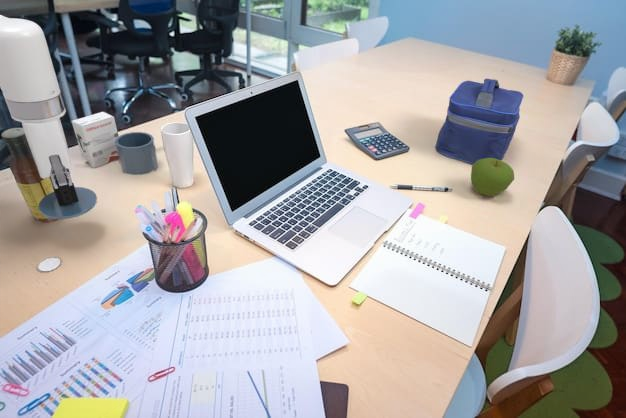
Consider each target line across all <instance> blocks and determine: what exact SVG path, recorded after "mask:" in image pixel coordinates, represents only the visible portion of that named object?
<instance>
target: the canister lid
mask: <svg viewBox="0 0 626 418" xmlns="http://www.w3.org/2000/svg"><path fill="white" fill-rule="evenodd" d="M69 176H70V179H71V180H72V177H71V173H70V174H69ZM65 177H66V174H65ZM50 178H51V176H50ZM56 179H57V177H56V176H55V180H56ZM51 181H52V179H51ZM71 182H72V183H73V180H72V181H71ZM52 184H53V181H52ZM53 187H54V184H53ZM74 187H75V190H76V193H77V197H78V200H79V201H78V202H76V203H72V204H67V205H63V206H60V205H59V204H58V201H57V198H56V195H55V192H52V193H50V194H48V195H46V196H45V197H44V198H43V199H42V200H41V201H40V203H39V210H40V212H41V214H42V215H44V216H45V217H48V218H51V219H59V220H68V219H74V218H77V217H80V216H82V215H85V214H87V213H89V212H90V211H91V210H93V209H94V208H95V206H97V203H98V197H97V194H96V192H95V191H93V190H92V189H90V188H87V187H82V186H74Z"/></svg>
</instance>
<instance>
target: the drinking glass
mask: <svg viewBox="0 0 626 418" xmlns="http://www.w3.org/2000/svg"><path fill="white" fill-rule="evenodd" d="M187 124H188V123H186V122H181V121H173V122H168V123H165V124H163V125H162V126H161V128H160V133H161V141H162V146H163V151H164V155H165V157H166V163H167V166H168V172H169V175H170V180H171V184H172V185H173V186H174V187H176V188H179V189H184V188H185V189H186V188H189V187H191V186H192V185H194V183H195V175H194V137H192V136H193V134H192V135H191V132H190V130H189V127H188V125H187Z"/></svg>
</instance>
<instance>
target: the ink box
mask: <svg viewBox="0 0 626 418" xmlns="http://www.w3.org/2000/svg"><path fill="white" fill-rule="evenodd" d="M71 124H72V128H73V131H74V135H75V138H76V141H77V144H78V147H79V151H80V154H81V157H82V158H83V159H85V160H86V161H84V163H85V164H86V165H88V166H89V167H91V168H93V169H96V168H98V167H101V166H104V165H106V164H109V163H111V162H114V161H116V160H119V157H118V153H117V149H116V144H115V140H116V138H118V137H119V136H120V135H119V132H118V129H117V128H118V127H117V125H116V124H117V123H116V120H115V116H113V115H111V114H109V113H107V112H106V111H100V112H97V113H93V114H90V115H87V116H84V117H80V118H76V119H74V120H71ZM116 154H117V155H116Z"/></svg>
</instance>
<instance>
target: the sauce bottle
mask: <svg viewBox="0 0 626 418" xmlns="http://www.w3.org/2000/svg"><path fill="white" fill-rule="evenodd" d="M1 138H2V140H3V142H4V143H5V144H6V146H7V148H8V150H9V153H10V163H9V170H10V171H11V173H12V176H13V178H14V180H15V183H16V185H17V187H18V189H19V191H20V193H21V195H22V197H23V199H24V202H25V203H26V205H27V207H28V209H29V212H30V213H31V215H32V216H33V218H34V220H36V221H38V222H40V223H51V222H57V221H58V220H60V219H51V218H48V217H45V216H44V215H42V214H41V212H40V210H39V203H40V201H41V200H42V199H43V198H44V197H45V196H46V195H48V194H50V193H52V192H54V189H53V186H52V183H51V180H50V177H48V178H45V179H43V178H41V177H40V174H39V172H38V169H37V166H36V163H35V160H34V158H33V155H32V152H31V150H30V147H29V144H28V141H27V138H26V135H25V132H24V129H23V127H11V128H8V129H6V130H4V131H2V133H1Z"/></svg>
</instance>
